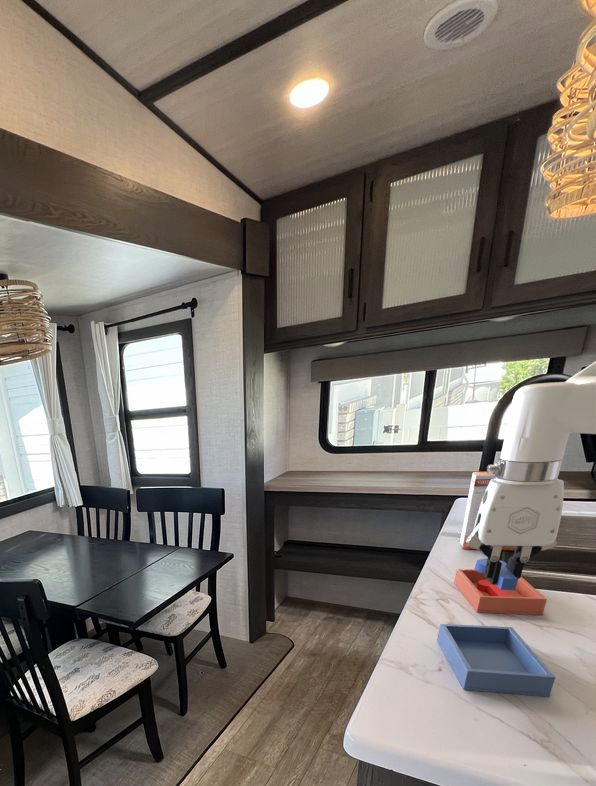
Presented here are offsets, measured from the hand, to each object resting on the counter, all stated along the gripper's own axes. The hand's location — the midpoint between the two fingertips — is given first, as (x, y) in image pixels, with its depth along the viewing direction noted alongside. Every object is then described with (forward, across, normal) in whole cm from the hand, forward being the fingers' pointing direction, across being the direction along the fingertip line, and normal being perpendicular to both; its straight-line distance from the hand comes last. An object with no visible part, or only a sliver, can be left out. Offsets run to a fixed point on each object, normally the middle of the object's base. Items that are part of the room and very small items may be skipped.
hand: (500, 581), depth 79 cm
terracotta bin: (+14, +9, +26) cm, 31 cm away
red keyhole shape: (+14, +9, +26) cm, 31 cm away
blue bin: (+14, -1, -4) cm, 15 cm away
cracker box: (+14, +18, +62) cm, 66 cm away
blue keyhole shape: (0, 0, +2) cm, 3 cm away
